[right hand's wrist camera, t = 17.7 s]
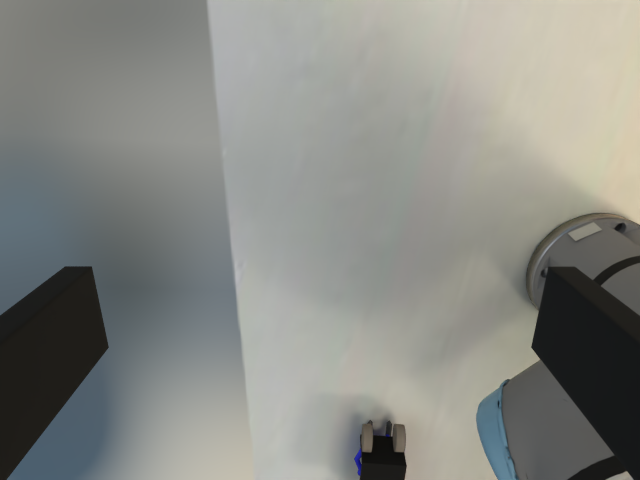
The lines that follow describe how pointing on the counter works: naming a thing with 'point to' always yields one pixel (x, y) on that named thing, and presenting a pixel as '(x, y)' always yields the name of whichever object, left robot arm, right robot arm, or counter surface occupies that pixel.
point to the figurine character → (382, 453)
